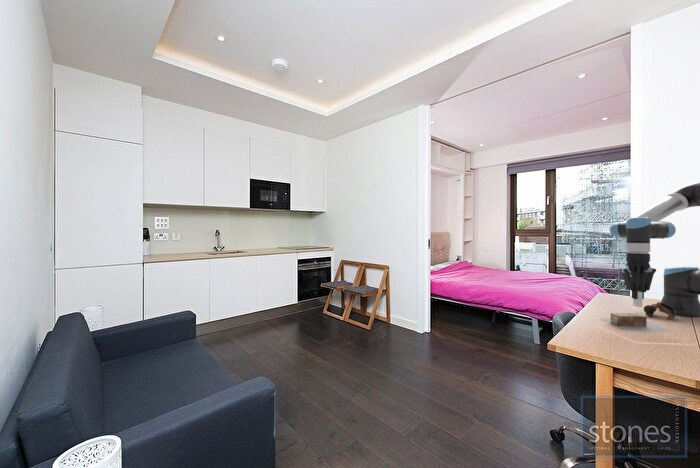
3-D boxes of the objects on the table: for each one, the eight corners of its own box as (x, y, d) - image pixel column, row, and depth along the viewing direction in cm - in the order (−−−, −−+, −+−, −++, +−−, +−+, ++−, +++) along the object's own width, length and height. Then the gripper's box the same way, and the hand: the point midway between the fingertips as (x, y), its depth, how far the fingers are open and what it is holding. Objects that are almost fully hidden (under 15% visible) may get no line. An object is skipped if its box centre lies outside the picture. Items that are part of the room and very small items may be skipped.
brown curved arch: (654, 314, 148) (666, 302, 144) (671, 328, 139) (685, 316, 136) (632, 309, 147) (644, 296, 143) (649, 323, 138) (661, 310, 135)
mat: (640, 320, 138) (640, 319, 138) (673, 332, 122) (673, 331, 122) (598, 319, 140) (598, 318, 140) (625, 331, 124) (625, 330, 124)
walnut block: (637, 313, 132) (610, 313, 133) (646, 316, 127) (618, 316, 128) (637, 323, 132) (610, 322, 133) (646, 326, 127) (618, 326, 128)
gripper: (646, 251, 132) (646, 304, 132) (614, 251, 133) (614, 303, 134) (662, 253, 124) (662, 308, 125) (628, 253, 126) (628, 308, 126)
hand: (637, 306), depth 129 cm, fingers closed
